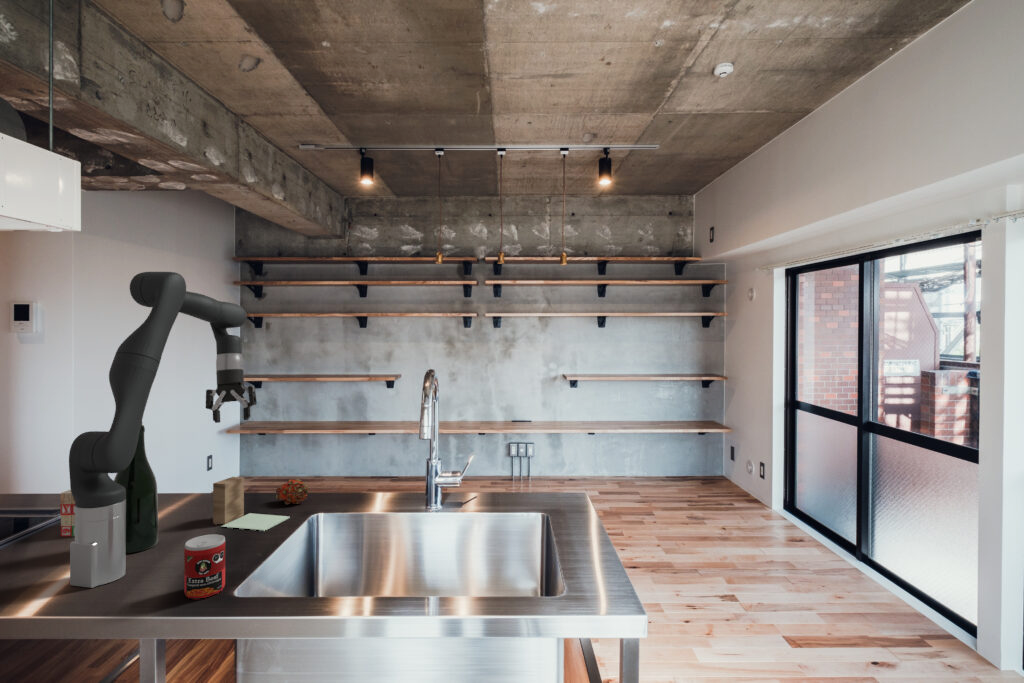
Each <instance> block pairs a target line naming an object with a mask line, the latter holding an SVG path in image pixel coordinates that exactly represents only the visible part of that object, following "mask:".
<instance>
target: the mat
mask: <svg viewBox="0 0 1024 683" xmlns="http://www.w3.org/2000/svg"><path fill="white" fill-rule="evenodd" d="M290 518H291V517H290V516H287V515H275V514H262V513H251V512H249V513H247V514H244V516H243V517H240V518H238V519H236V520H234V521H231V522H229V523H227V524H225V525H220V526H221V528H222V527H227V528H226V529H233V528H239V529H238V530H244V529H250V530H249V531H256V530H259V531H258V532H266V531H267V530H269V529H271V528H273V527H276V526H277V525H279V524H281V523H283V522H284V521H285V522H286V521H287V520H289V519H290ZM265 530H266V531H265Z"/></svg>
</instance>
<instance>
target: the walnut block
mask: <svg viewBox="0 0 1024 683" xmlns="http://www.w3.org/2000/svg"><path fill="white" fill-rule="evenodd" d="M212 491H213V493H212V500H213V502H212V513H213V514H212V524H213V523H214V524H213V525H217V524H223V525H225V524H227V523H229V522H231V521H234V520H236V519H238V518H240V517H243V516H245V509H244V508H245V478H244V477H241V476H231V477H228V478H225V479H222V480H219V481H217V482H213V484H212ZM223 525H222V526H223Z"/></svg>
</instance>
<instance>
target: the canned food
mask: <svg viewBox="0 0 1024 683" xmlns="http://www.w3.org/2000/svg"><path fill="white" fill-rule="evenodd" d="M183 549H184V550H183V551H184V554H183V556H184V558H183V560H184V561H183V562H184V564H183V567H184V569H183V570H184V571H183V572H184V576H183V577H184V578H183V579H184V581H183V583H184V586H183V587H184V589H183V590H184V592H183V593H184V595H185V597H186V598H187V597H188V598H187V599H189V598H194V599H193V600H196V599H195V598H205V599H207V598H206V597H209V596H212V595H214V594H217V593H218V594H220V593H221V592H222V591H223V590H224V589H223V588H225V586H226V537H225V535H222V534H213V533H212V534H205V535H199V536H195V537H193V538H191V539H189V540H187V541H186V542H185V543H184V548H183ZM220 591H221V592H220ZM219 592H220V593H219ZM218 594H217V595H218ZM214 596H215V595H214ZM212 597H213V596H212ZM209 598H210V597H209Z"/></svg>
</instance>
